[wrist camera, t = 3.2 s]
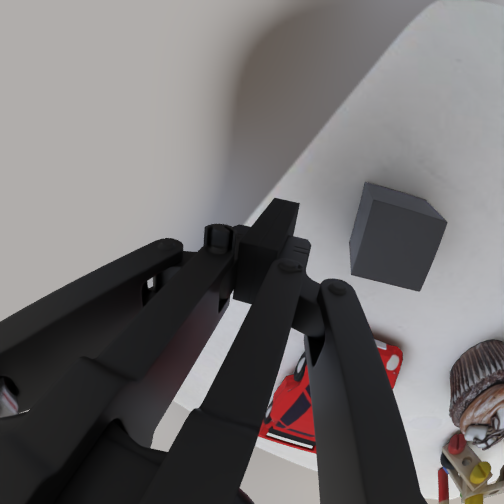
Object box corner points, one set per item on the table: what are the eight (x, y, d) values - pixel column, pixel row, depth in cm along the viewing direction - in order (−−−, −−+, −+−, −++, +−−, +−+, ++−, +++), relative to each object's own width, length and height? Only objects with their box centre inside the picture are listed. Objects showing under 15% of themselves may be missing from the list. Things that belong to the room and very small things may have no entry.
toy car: (412, 341, 24) (419, 380, 19) (329, 434, 33) (324, 463, 29) (314, 310, 25) (307, 349, 21) (259, 414, 35) (249, 443, 31)
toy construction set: (483, 464, 31) (485, 541, 13) (399, 472, 36) (389, 564, 18) (565, 383, 19) (592, 478, 1) (485, 389, 24) (505, 532, 6)
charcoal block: (348, 243, 22) (350, 275, 17) (365, 181, 19) (373, 199, 15) (406, 258, 21) (419, 292, 16) (425, 199, 18) (447, 222, 14)
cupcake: (523, 349, 20) (550, 412, 11) (469, 398, 25) (481, 462, 16) (488, 320, 20) (521, 397, 12) (426, 380, 25) (436, 456, 17)
